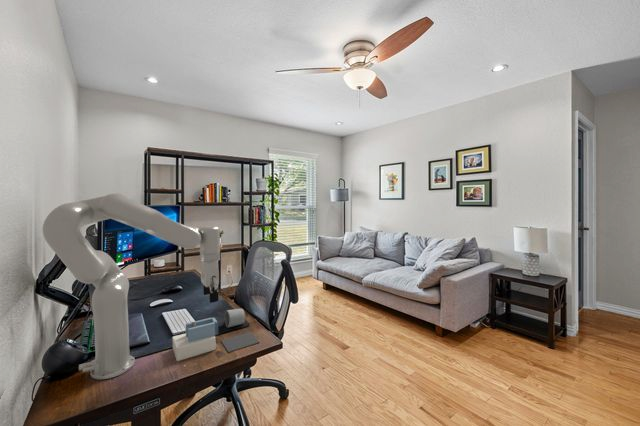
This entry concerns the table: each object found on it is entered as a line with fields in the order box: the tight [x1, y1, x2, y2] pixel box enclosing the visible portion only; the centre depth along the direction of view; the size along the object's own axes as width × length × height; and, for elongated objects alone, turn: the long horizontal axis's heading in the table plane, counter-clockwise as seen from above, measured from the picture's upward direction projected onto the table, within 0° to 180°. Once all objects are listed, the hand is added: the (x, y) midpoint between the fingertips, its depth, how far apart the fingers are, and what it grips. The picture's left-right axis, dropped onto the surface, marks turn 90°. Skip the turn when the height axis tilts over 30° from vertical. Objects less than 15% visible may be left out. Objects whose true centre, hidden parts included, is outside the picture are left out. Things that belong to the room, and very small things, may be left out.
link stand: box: [172, 321, 217, 362], centre depth 111 cm, size 14×10×11 cm
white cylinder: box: [224, 308, 247, 328], centre depth 133 cm, size 11×8×8 cm
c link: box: [185, 316, 219, 342], centre depth 112 cm, size 11×6×5 cm, turn 126°
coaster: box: [220, 331, 260, 353], centre depth 117 cm, size 13×10×1 cm
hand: (210, 297), depth 113 cm, fingers open, 9 cm apart
